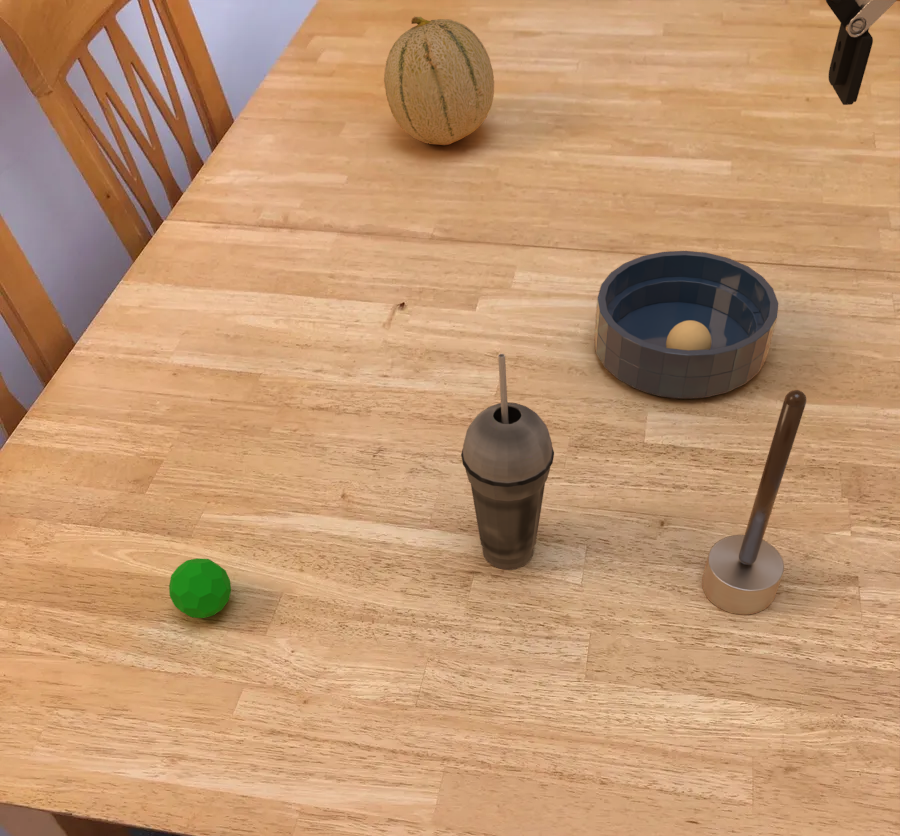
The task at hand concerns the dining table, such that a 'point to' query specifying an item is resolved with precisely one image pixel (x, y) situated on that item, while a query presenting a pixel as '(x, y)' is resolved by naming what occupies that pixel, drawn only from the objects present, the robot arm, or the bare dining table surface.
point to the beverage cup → (507, 477)
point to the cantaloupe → (439, 81)
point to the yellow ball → (689, 336)
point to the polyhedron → (199, 588)
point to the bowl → (676, 300)
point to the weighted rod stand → (755, 532)
